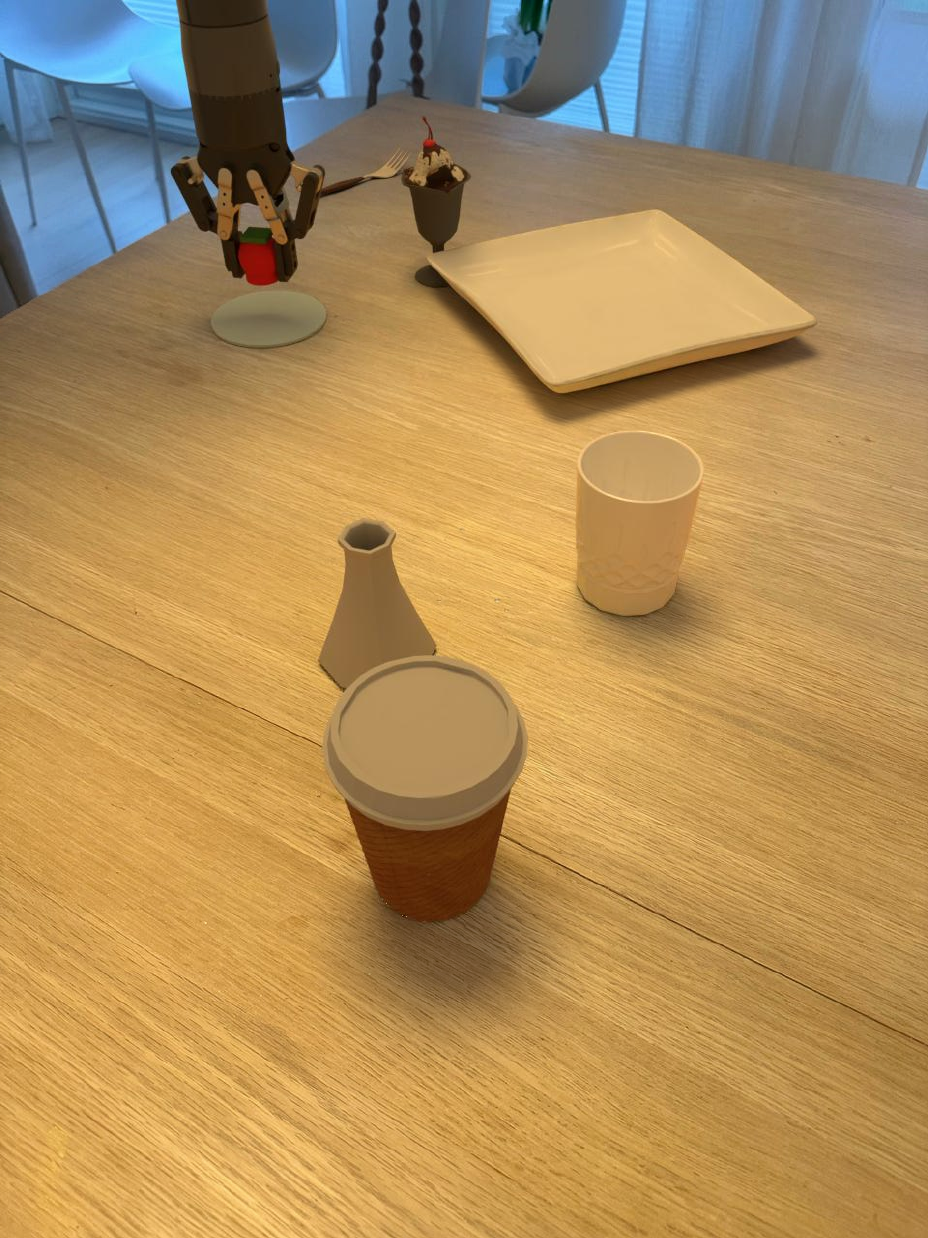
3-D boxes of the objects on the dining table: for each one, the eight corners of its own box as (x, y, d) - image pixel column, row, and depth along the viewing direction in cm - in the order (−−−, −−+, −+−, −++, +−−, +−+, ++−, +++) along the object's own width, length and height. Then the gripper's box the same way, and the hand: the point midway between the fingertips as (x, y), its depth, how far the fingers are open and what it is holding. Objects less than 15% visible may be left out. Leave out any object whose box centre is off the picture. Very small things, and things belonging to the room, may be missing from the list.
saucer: (193, 342, 98) (193, 339, 98) (235, 288, 106) (235, 286, 106) (306, 352, 96) (306, 350, 96) (340, 298, 104) (340, 295, 104)
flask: (298, 666, 67) (278, 545, 60) (369, 603, 72) (357, 483, 65) (387, 714, 64) (377, 592, 57) (456, 645, 69) (453, 524, 62)
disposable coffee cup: (335, 953, 53) (309, 808, 44) (349, 798, 60) (329, 648, 51) (525, 951, 53) (534, 806, 44) (517, 797, 60) (524, 647, 51)
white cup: (681, 629, 69) (703, 508, 62) (562, 616, 70) (571, 495, 64) (684, 554, 75) (704, 435, 68) (573, 542, 76) (583, 424, 69)
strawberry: (235, 286, 97) (227, 240, 94) (250, 267, 100) (243, 221, 97) (277, 289, 96) (270, 243, 93) (291, 270, 99) (285, 224, 96)
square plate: (549, 423, 87) (551, 382, 85) (423, 287, 106) (421, 249, 103) (814, 353, 95) (824, 313, 93) (654, 237, 114) (659, 201, 111)
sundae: (424, 256, 111) (418, 105, 100) (482, 268, 109) (482, 115, 98) (394, 282, 106) (385, 127, 96) (453, 295, 104) (450, 138, 94)
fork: (295, 199, 122) (293, 182, 121) (399, 164, 130) (399, 147, 129) (308, 206, 121) (306, 188, 119) (413, 169, 129) (412, 152, 127)
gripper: (133, 87, 85) (176, 288, 96) (301, 96, 82) (324, 301, 94) (170, 59, 90) (207, 253, 102) (329, 67, 88) (348, 264, 100)
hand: (263, 275), depth 98 cm, fingers closed on strawberry, 4 cm apart
